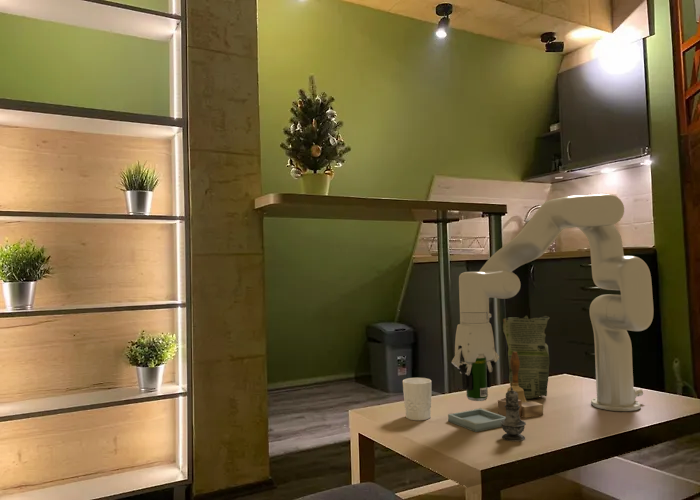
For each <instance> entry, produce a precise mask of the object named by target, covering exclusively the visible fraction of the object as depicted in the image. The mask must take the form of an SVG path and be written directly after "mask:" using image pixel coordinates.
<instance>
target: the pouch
mask: <svg viewBox="0 0 700 500" xmlns="http://www.w3.org/2000/svg"><path fill="white" fill-rule="evenodd" d="M549 319H550V317H549V316H547V315H544V316H541V317H533V318H529V317H528V315H525V316H524V317H521V318H520V317H513V316H512V317H505V318H502V321H503V324H502V329H503V330H502V331H503V333H504V335H505V339H506V343H507V344H506V345H507V350H508V351H507V358H508V359H507V361H508V367H509V371H508V373H509V375H508V381H509V386H510V387H511V386H512V381H513V380H512V370H511V365H510V360H511V356H512V352H517V354H518V357H519V361H520V367H519V371H518V385H519V387H521V388H522V389H523V390H524V395H525V399H526V400H529V399H538V398H540V397H547V396H548V382H549V377H550V374H549V373H550V372H549V368H550V354H549V345H548V344H547V343H546V336H547V334H546V333H545V330H546V328H547V325H548V321H549Z"/></svg>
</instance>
